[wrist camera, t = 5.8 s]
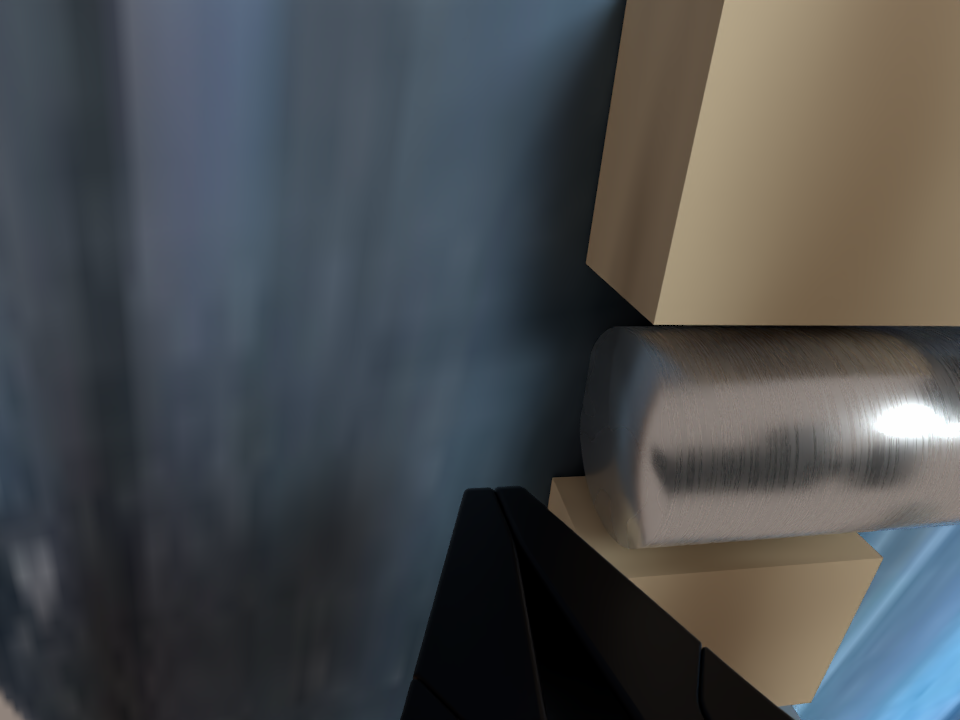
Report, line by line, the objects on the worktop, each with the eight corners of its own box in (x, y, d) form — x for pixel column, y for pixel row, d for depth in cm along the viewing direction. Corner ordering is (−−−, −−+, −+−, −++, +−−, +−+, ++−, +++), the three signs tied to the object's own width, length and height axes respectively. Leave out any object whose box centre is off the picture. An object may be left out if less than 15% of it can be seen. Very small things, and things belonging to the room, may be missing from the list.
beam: (954, 19, 10) (1164, -1, 7) (739, 598, 16) (810, 702, 13) (629, -18, 9) (737, -57, 6) (530, 617, 15) (563, 733, 12)
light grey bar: (1092, 293, 13) (1336, 390, 10) (1000, 430, 15) (1176, 549, 12) (600, 290, 11) (696, 411, 8) (569, 449, 13) (635, 599, 10)
